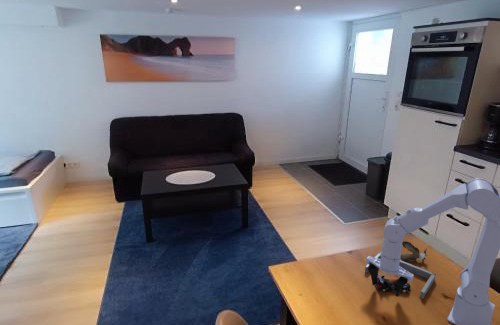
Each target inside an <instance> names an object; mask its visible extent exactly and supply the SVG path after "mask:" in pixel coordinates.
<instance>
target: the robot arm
mask: <svg viewBox="0 0 500 325" xmlns="http://www.w3.org/2000/svg"><path fill="white" fill-rule="evenodd" d="M469 207H470V208H471V209H472V210H474V211H476V212H478V213H479V214H481V215H482V216H483V217H484V218H485V220H484V223H483V224H482V228H481V231H480V234H479V237H478V240H477V243H476V246H475V248H474V251H473V254H472V257H471V260H470V262H469V263H468V264H467V266H466V268H464V269H463V270H461V272H460V274H459V278H460V283H461V285H460V286H459V287H458V288H457V290H456V294H455V298H454V302H453V306H452V307H451V308H452V309H451V310H450V312H449V315H448V316H447V318H446V320H447V321H448V322H450V323H451V324H454V325H492V324H493V322H492V318H493V315H494V312H495V308H496V304H494V303H492V302H491V301H490V294H489V288H490V285H491V284H490V283H491V282H490V281H491V274H492V271H493V269H494V265H495V263H496V261H497V258H498V254H499V253H500V192H499V190H498V189H497V187H495V185H493V184H492V183H491V182H490V181H489V180H487V179H485V178H479V177H478V178H473V179H470V180H469V181H467V183H466V182H464V183H462V184H460V185H458V186H457V187H455V188H454V189H452V190H451V191H449V192H447V193H446V194H444V195H442V196H441V197H439V198H437V199H436V200H434V201H433V202H430V203H429V204H427V205H426V206H423V207H422V208H421V207H417V206H416V207H414V208H411V207H409V208H407V209H406V211H405V212H404V213H403V214H400V215H398V216H397V215H396V216H394V217H393V218H389V219H388V220H387V221H386V222H385V226H384V229H383V239H382V246H381V251H380V252H381V259H378V258H374V257H375V256H374V257H373V256H371V255H368V256H367V258H366V260H365V261H366V262H365V263H366V265H368V264H369V266H368V271H369V272H368V274H369V275H370V277H371V282H372V283H371V284H372V286H375V284H376V283H377V279H378V275H379V271H381V273H382V274H385V275H389V274H390V275H393V276H398V277H399V278H397V279H398V280H397V290H396V291H395V296H396V297H397V298H398V297H399V296H400V294H401V292H402V291H401V290H402V288H403V287H404V286H405V285H406V283H412V282H413V280H414V274H415V273H412V272H410V271H407V270H405V269H403V268H402V267H400V266H399V264H400V260H401V254H402V249H403V245H402V242H403V240H404V239H405V235H409V234H411V233H412V232H415V231H417V230H419V229H421V228H422V227H425V226H427V225H428V224H429V220H430V219H431V218H434V217H436V216H437V215H438V216H439V215H440V214H442V213H443V214H444V212H445V213H446V212H447V211H449V210H452V209H454V208H459V209H463V210H467V211H468V210H469ZM375 287H376V286H375Z"/></svg>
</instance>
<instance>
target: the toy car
mask: <svg viewBox="0 0 500 325" xmlns="http://www.w3.org/2000/svg"><path fill="white" fill-rule="evenodd" d="M398 279H399V278H397V279H392V278H391V279H389V278H385V275H382V276H380V274H378V279H377V283H376V284H375V288H376V289H377V292H378V291H380V292H382V293H385V292H386V291H387V292H396V290H397V280H398ZM411 288H412V286H411V284H410V282H407V283H406V285H405V286H404V287H403V288H402V290H401V292H402V294H403V293H404V294H406V293H409V292H411Z"/></svg>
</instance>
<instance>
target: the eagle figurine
mask: <svg viewBox="0 0 500 325" xmlns="http://www.w3.org/2000/svg"><path fill="white" fill-rule="evenodd" d="M402 248H405V249H406V250H407V251H409V252H410V253H411V254H409V253H406V254H404V253H403V254H402V253H401V258H400V260H401V261H412V262H413V261H416V260H417V259H419V260H420V261H421V262H422V263H424V262H425V260H426V257H427V256H428V255H427V251H428V250H427V247H426V248H425V250H424V251H422V252H420V249H419V248H418V247H417V246H414V244H412V243H411V242H410V241H406V240H404V241H403V240H402Z"/></svg>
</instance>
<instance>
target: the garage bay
mask: <svg viewBox="0 0 500 325" xmlns="http://www.w3.org/2000/svg"><path fill="white" fill-rule="evenodd" d="M381 252H382V251H379V252H378V253H376V256H374V258H378V259H381ZM368 266H369V264H366V266H365V268H364V269H365V270H364V273H365V274H369V271H368ZM399 266H400V267H402V268H403V269H405V270H406V271H408V272H410V273H411V274H415V275H417V276H420V277H422V278H425V279H427V281H426V283H425V284H424V286H423V288H422V289H421V291H420V295H419V298H420V299H424V298H425V297H426V295H427V293H428V292H429V290H430V288H431V287H432V285H433V283H434V281H435V280H436V273H434V272H431V271H428V270H426V269H423V268H421V267H419V266H417V265H416V266H415V265H414V264H411V263H409V262H406V261H405V260H402V259H400V264H399Z"/></svg>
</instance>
